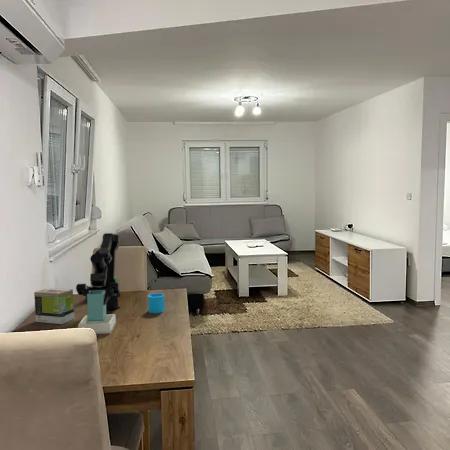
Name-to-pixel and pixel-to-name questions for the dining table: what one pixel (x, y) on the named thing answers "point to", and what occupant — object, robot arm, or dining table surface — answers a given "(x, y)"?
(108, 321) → the white crate
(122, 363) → the dining table surface
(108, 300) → the robot arm
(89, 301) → the teal crate
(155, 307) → the mug
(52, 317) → the tea box
